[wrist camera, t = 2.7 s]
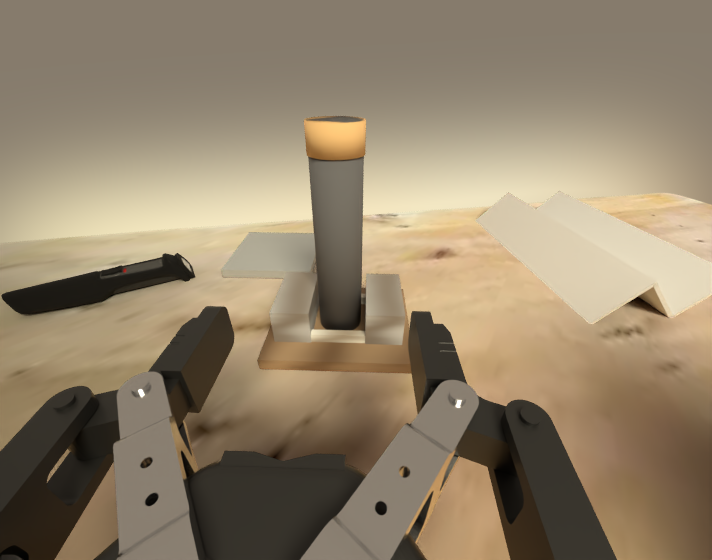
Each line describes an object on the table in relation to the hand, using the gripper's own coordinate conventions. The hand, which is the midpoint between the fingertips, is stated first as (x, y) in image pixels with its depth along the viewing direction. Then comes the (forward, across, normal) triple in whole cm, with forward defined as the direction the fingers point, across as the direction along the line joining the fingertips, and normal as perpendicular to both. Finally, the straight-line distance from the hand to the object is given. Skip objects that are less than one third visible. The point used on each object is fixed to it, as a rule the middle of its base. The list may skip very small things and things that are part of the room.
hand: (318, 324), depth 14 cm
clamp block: (+11, 0, +10) cm, 15 cm away
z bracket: (+26, -28, +11) cm, 39 cm away
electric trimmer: (+16, +24, +11) cm, 31 cm away
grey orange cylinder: (+11, 0, +9) cm, 14 cm away
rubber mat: (+24, +9, +10) cm, 28 cm away
